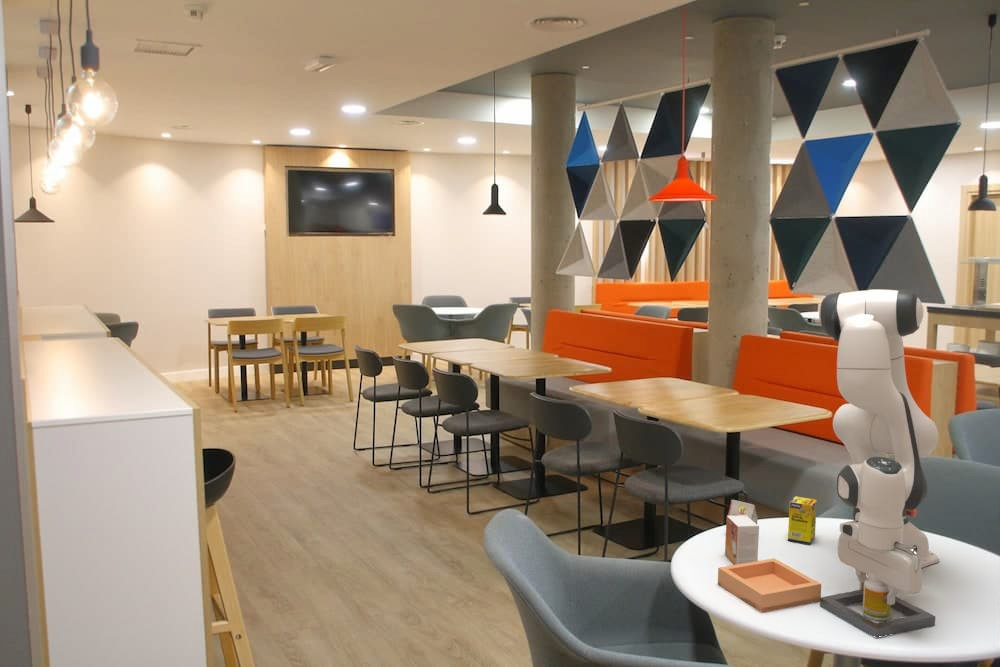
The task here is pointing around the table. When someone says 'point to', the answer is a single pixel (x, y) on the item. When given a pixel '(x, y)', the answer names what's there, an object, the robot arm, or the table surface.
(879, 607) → the supplement bottle
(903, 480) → the robot arm
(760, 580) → the tray
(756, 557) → the small box
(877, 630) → the dark grey square frame
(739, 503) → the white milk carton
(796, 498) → the supplement box
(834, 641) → the table surface
